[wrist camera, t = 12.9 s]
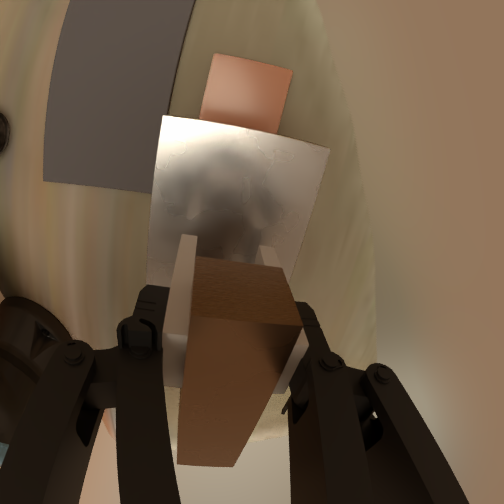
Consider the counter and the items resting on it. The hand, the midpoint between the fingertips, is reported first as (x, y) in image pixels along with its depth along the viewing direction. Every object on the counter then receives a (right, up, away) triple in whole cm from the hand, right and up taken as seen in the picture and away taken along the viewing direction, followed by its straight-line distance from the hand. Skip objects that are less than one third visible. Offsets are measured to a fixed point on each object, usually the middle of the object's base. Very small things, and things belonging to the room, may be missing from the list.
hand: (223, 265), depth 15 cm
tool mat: (-12, +17, +7) cm, 22 cm away
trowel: (0, 0, +2) cm, 2 cm away
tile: (0, +10, +11) cm, 15 cm away
